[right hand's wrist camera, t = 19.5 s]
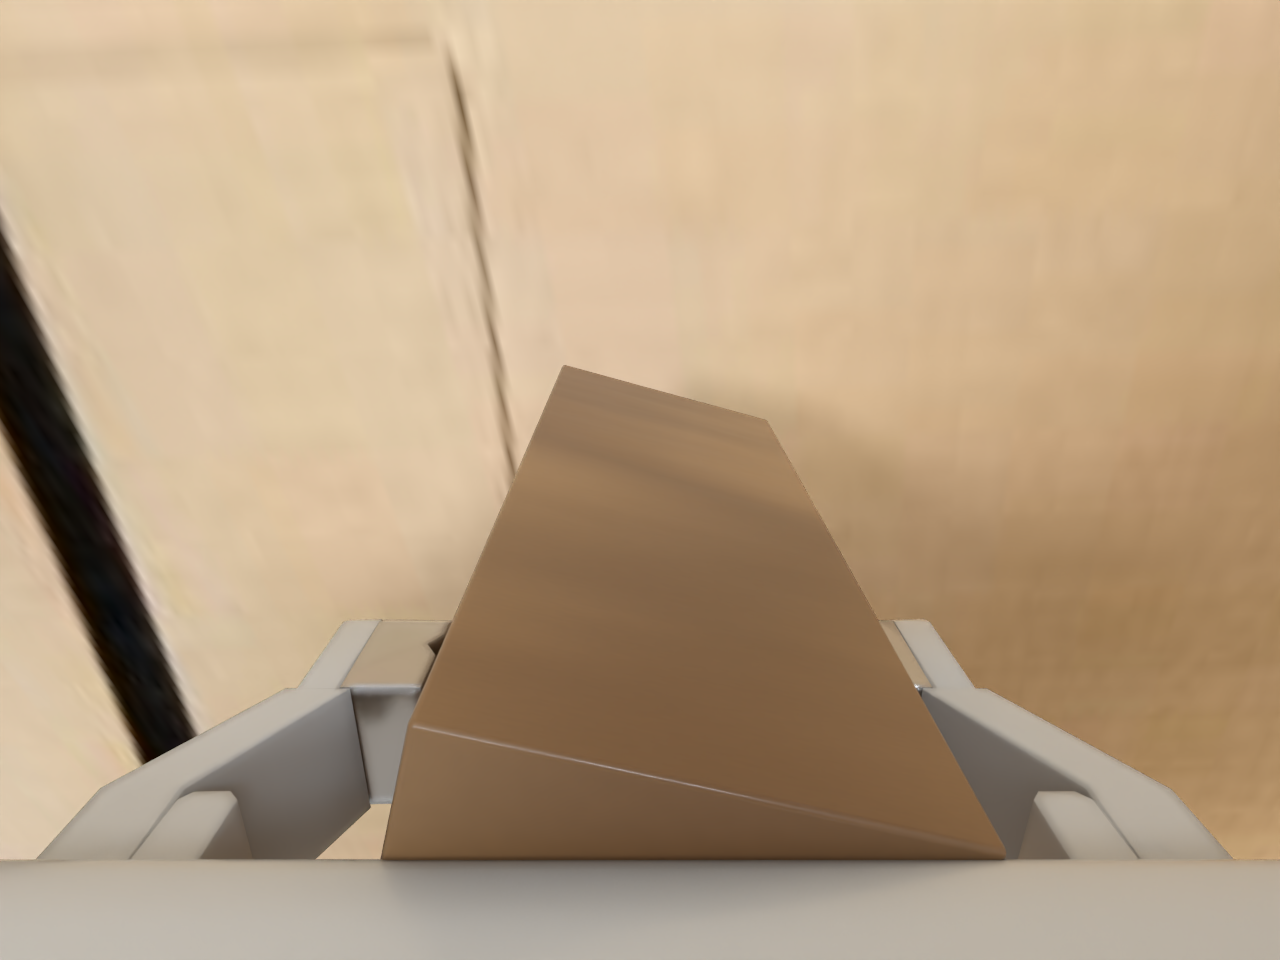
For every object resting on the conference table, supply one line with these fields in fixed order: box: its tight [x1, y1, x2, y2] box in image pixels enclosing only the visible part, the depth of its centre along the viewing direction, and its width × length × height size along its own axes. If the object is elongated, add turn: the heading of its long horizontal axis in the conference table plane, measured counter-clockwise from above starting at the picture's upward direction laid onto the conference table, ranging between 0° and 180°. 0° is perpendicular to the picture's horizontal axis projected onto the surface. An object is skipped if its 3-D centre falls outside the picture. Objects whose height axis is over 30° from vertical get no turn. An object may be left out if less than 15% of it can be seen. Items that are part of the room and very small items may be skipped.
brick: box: [381, 365, 1006, 860], centre depth 11 cm, size 4×5×11 cm
